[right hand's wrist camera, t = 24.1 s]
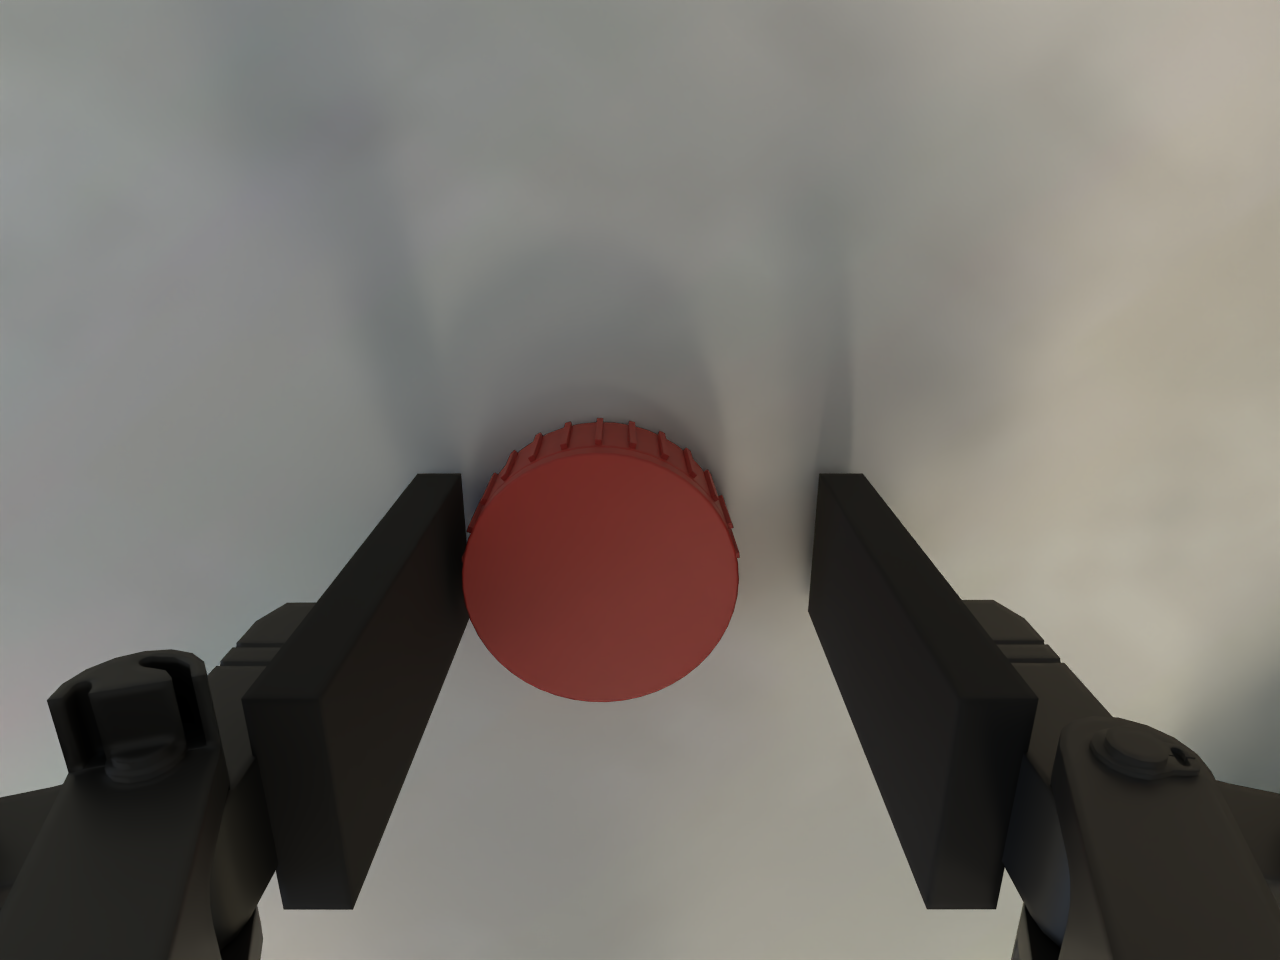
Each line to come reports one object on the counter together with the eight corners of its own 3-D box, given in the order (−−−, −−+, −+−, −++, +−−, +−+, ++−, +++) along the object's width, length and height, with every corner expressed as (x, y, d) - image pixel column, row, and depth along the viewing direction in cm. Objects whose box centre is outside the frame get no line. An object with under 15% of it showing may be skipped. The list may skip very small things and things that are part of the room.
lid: (759, 448, 14) (778, 483, 12) (692, 669, 16) (701, 728, 14) (500, 389, 14) (483, 418, 12) (458, 623, 15) (436, 679, 13)
